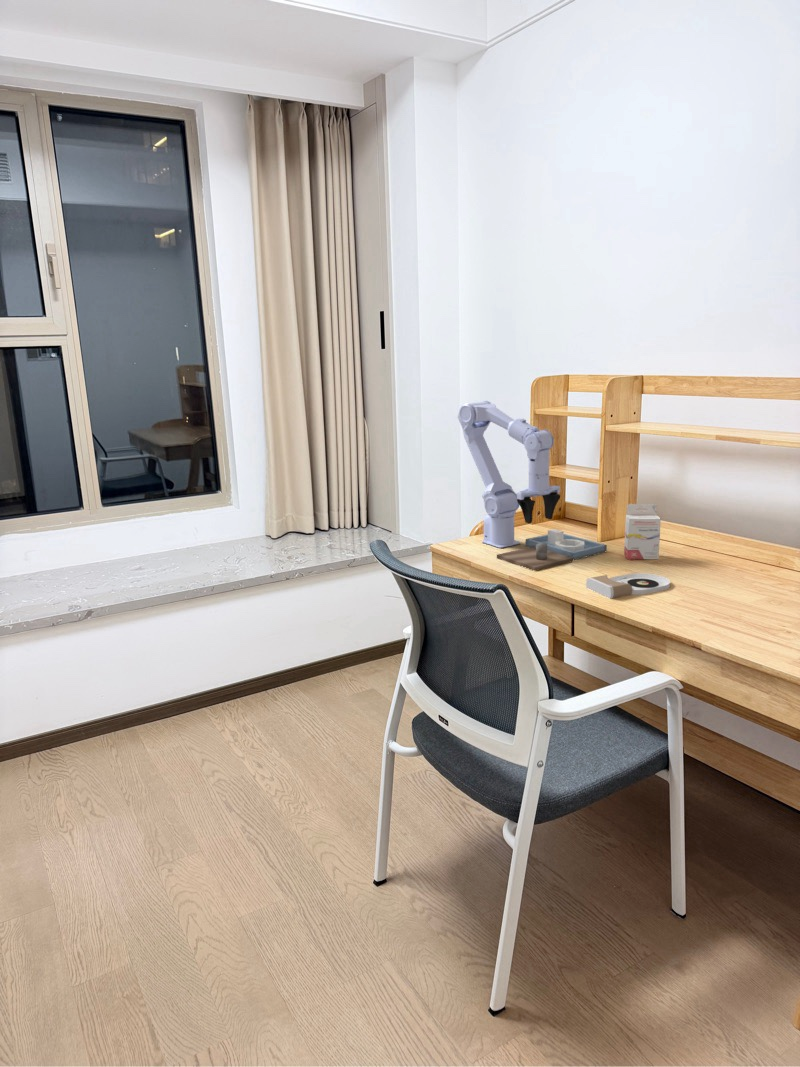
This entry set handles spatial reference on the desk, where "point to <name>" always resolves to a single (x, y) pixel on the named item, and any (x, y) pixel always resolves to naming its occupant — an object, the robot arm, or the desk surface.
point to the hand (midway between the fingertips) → (538, 520)
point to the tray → (588, 550)
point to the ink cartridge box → (642, 532)
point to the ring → (564, 541)
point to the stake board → (535, 557)
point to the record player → (627, 584)
